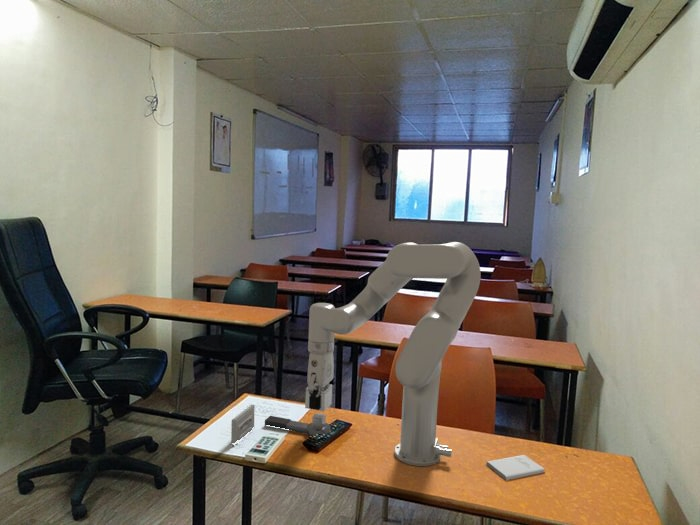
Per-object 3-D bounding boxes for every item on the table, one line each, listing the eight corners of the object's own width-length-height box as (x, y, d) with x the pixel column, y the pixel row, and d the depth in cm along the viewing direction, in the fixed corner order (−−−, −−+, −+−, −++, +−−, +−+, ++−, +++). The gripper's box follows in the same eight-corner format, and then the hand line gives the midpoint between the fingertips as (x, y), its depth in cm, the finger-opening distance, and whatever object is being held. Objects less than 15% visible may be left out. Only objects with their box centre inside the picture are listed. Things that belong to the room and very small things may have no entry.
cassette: (250, 428, 149) (250, 403, 149) (255, 429, 149) (256, 404, 148) (229, 446, 138) (229, 419, 137) (235, 447, 137) (235, 420, 137)
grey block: (331, 403, 148) (332, 384, 148) (324, 411, 143) (325, 391, 142) (313, 400, 150) (313, 381, 150) (305, 408, 145) (305, 388, 144)
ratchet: (262, 428, 149) (262, 410, 149) (272, 419, 156) (273, 402, 155) (325, 441, 143) (325, 422, 142) (333, 431, 149) (334, 412, 149)
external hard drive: (486, 466, 133) (523, 459, 137) (506, 482, 125) (544, 474, 130) (486, 460, 133) (523, 453, 137) (506, 476, 125) (545, 468, 130)
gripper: (322, 355, 135) (319, 418, 137) (342, 340, 151) (340, 396, 153) (297, 351, 137) (295, 413, 139) (320, 337, 154) (317, 392, 156)
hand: (318, 404), depth 146 cm, fingers closed on grey block, 6 cm apart
